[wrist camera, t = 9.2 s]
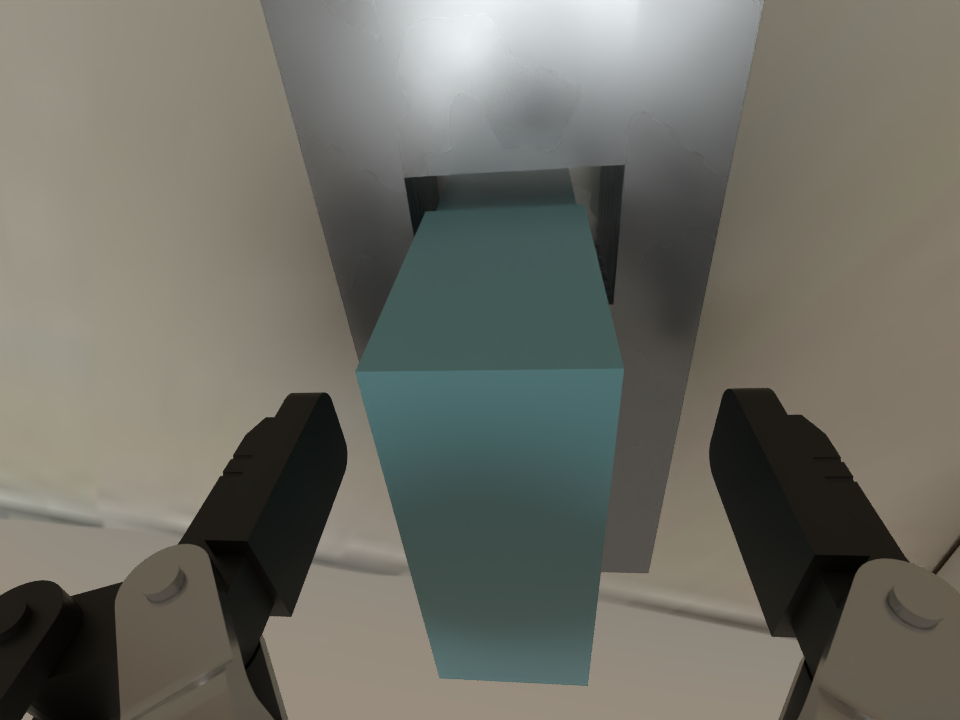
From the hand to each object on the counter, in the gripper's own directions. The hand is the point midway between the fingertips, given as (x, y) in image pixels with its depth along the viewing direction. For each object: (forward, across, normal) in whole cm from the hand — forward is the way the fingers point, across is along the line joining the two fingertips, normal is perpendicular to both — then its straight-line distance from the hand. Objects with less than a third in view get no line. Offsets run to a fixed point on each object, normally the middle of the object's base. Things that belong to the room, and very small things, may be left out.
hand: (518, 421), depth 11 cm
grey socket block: (+6, 0, 0) cm, 6 cm away
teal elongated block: (+6, 0, 0) cm, 6 cm away
